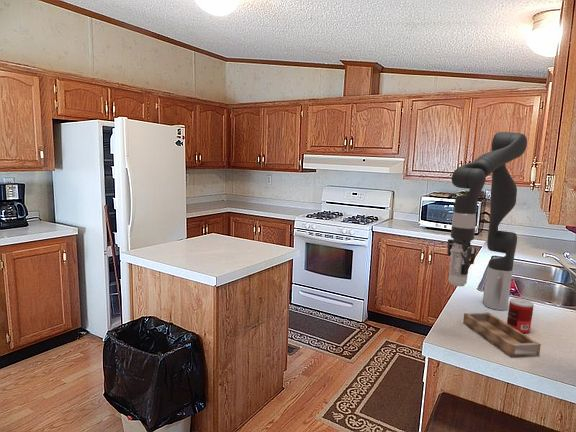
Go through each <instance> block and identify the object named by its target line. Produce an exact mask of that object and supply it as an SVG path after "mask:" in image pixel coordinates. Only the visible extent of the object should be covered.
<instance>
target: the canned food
mask: <svg viewBox="0 0 576 432" xmlns="http://www.w3.org/2000/svg"><path fill="white" fill-rule="evenodd" d="M534 306H535V305H534V303H533V302H532V301H530V300H528V299H524V298H520V297H518V298H516V297H513V298H509V302H508V312H507V319H506V320H507V321H506V324H508V325H510V326H511V327H513V328H515V329H516V330H518V331H520V332H521V333H523V334H525V335H526V334H529V333H530V331H531V328H532V327H531V326H532V319H533V313H534Z"/></svg>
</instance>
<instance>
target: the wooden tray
mask: <svg viewBox="0 0 576 432" xmlns="http://www.w3.org/2000/svg"><path fill="white" fill-rule="evenodd" d="M462 320H463V324H464V325H465V326H466V327H468V328H469V329H471V330H472V331H473V332H475V333H476V334H477V335H479V336H480V337H481V338H483V339H485V340H486V341H488V342H489V343H490V344H491V345H493V346H494V347H496V348H497V349H498V350H500V351H501V352H503V353H504V354H506V355H507V356H508V357H510V358H522V357H523V358H524V357H539V356H540V353H541V345H542V344H541V343H540V342H538V341H536V340H534V339H533V338H531V337H530V336H528V335H526V333H525V334H523V333H521V332H520V331H518V330H516V329H515V328H513V327H511V326H510V325H508V324H507V322H505V321H504V320H501V319H500V318H498V317H496V316H495V315H493V314H492V313H490V312H471V313H469V312H468V313H466V312H464V313H463V319H462Z"/></svg>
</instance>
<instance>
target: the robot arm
mask: <svg viewBox="0 0 576 432" xmlns="http://www.w3.org/2000/svg"><path fill="white" fill-rule="evenodd" d="M527 146H528V139H527V136H526V135H525V134H523V133H521V132H509V131H508V132H507V131H506V132H505V131H499V132H496V133H495V134H494V136H493V138H492V141H491V151H489V152H485V153H483V154H481V155H480V156H478V157H477V158H476V159H474V160H473V161H470V162H468V163H465V164H463V165H460V166H459V167H457V168H455V170H454V171H453V172H452V175H451V183H452V185H453V186H454V187H456V188H459V189H468V190H469V191H468V192H467V194H460V195H457V196H456V197H455V200H454V208H453V215H452V218H451V219H452V221H451V231H450V238H451V239H447V248H446V249H447V250H446V251H447V253H446V254H447V256H448V257H449V258H450V259H451V250H452V246H453V245H454V242H456V243H459V244H461V245H462V248H463V252H465V251H466V250H467V255H463V254H462V252H461V253H460V258H462V266H461V274H462V275H467V274H469V268H470V267H469V266H471V265H474V264H475V258H476V254H477V247H472V245H471V242H472V241H473V240H474V239H475V232H476V222H477V208H478V207H477V205H478V202H479V201H478V200H479V198H480V195H481V192H482V191H483V188H484V186H485V183H486V178H488V176H489V175H491V188H490V199H489V200H490V201H489V202H490V209H489V211H490V213H489V225H488V231H487V233H488V234H487V240H486V242H487V243H486V244H487V249H488V250H489V251H491V252H494V253H495V252H496V253H501V254H505V255H504V256H502V257H498V258H491V259H489V261H488V265H487V274H486V281H485V282H484V286H483V295H482V296H483V297H482V303H483V306H484V307H486V308H488V307H489V308H488V309H492V310H496V311H505V310H508V309H509V301H510V291H511V285H512V284H511V283H512V276H513V269H514V268H513V267H514V262H515V261H514V260H515V256H516V250H517V243H518V235H517V233H515V232H512V231H505V230H499V229H498V227H499V225H500V224H501V222H502V221H503V220H504V218H505V217H507V216H508V214H509V213H511V211H513V209H514V207H515V206H516V204H517V193H518V188H517V185H516V183H515V180H514V179H513V177H512V176H511V174H510V172H509V171H508V168H507V166H506V164H508V163H510V162H512V161H514V160H515V159H518V158H520V157H521V156H522V155H523V154H524V153H525V151H526V149H527ZM459 248H460V245H459ZM464 258H466V260H465V259H464ZM467 276H468V275H467Z"/></svg>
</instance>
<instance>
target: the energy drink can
mask: <svg viewBox="0 0 576 432" xmlns="http://www.w3.org/2000/svg"><path fill="white" fill-rule="evenodd" d="M459 245H460V248H459ZM450 252H451V258H450V259H449V260H450V262H449V270H448V271H449V272H448V282H449V284H450V285H452V286H455V287H465V285H466V284H467V283H468V282H467V281H468V274H469V273H468V274H467V275H462V274H461V266H462V258H460V253H461V252H462V254H463V255H467V250H466V251H465V252H463V248H462V245H461V244H459V243H456V242H454V245H453V246H452V249H451V250H450ZM464 259H465V260H466V258H464Z"/></svg>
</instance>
